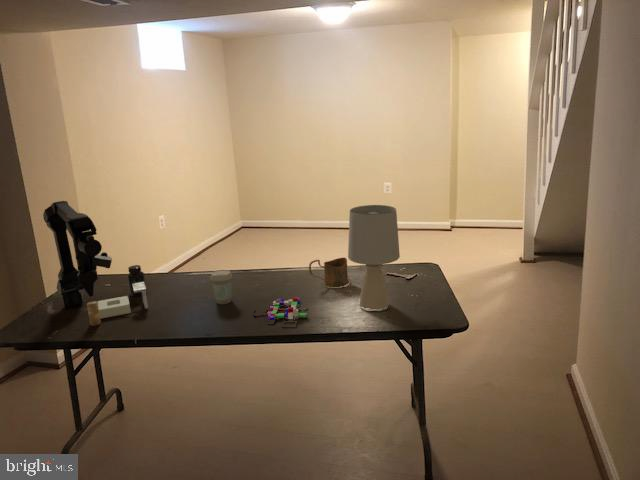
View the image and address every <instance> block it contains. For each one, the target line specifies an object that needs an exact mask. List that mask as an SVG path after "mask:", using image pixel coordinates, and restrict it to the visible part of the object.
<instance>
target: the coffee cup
mask: <svg viewBox="0 0 640 480" xmlns="http://www.w3.org/2000/svg"><path fill="white" fill-rule="evenodd" d="M232 278H233V274H232V272H231V270H227V269H219V270H218V269H217V270H214V271H213V272H211V275H210V282H211V284H212V288H213V292H214V298H215V303H216V304H218V305H226V304H227V305H228V304H230V303H231V302H232V287H233V286H232V280H233V279H232Z"/></svg>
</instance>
